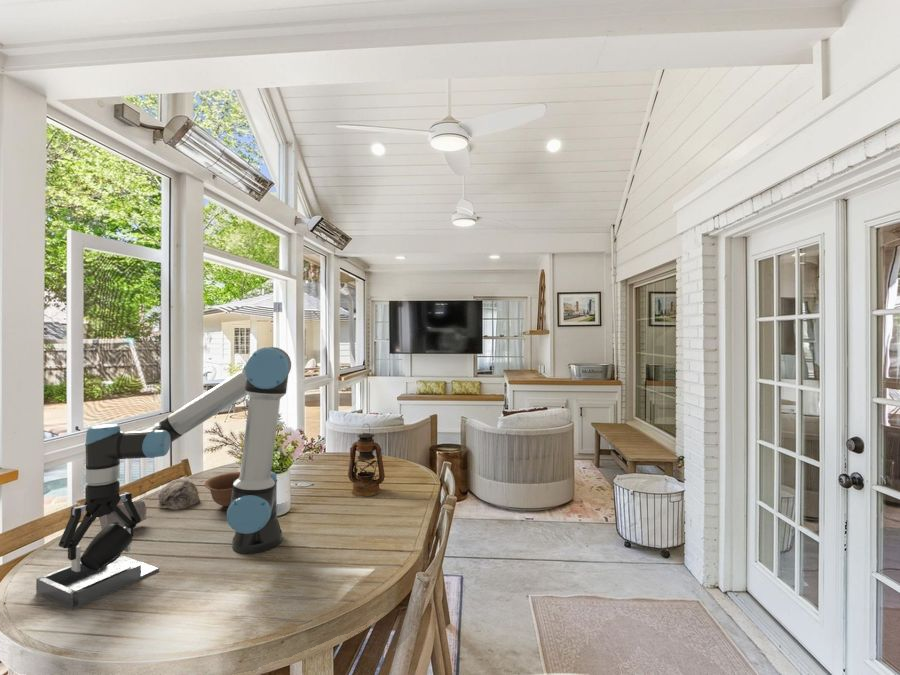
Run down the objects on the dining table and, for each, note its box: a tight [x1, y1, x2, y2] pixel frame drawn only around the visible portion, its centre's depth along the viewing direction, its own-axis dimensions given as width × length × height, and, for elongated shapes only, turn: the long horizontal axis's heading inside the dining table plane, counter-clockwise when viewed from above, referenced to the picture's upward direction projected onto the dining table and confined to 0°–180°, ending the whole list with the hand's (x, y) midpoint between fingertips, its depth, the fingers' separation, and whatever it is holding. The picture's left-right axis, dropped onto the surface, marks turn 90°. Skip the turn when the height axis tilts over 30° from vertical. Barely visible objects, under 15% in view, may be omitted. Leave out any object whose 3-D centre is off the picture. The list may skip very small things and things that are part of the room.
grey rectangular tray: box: [35, 555, 160, 612], centre depth 123 cm, size 17×21×4 cm
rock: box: [157, 478, 201, 511], centre depth 181 cm, size 15×12×10 cm
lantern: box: [347, 423, 386, 497], centre depth 196 cm, size 17×13×30 cm
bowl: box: [203, 471, 240, 511], centre depth 180 cm, size 22×22×11 cm
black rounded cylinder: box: [80, 524, 133, 570], centre depth 124 cm, size 8×12×10 cm
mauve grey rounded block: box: [98, 500, 148, 530], centre depth 156 cm, size 13×10×6 cm
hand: (102, 560), depth 124 cm, fingers closed on black rounded cylinder, 12 cm apart
